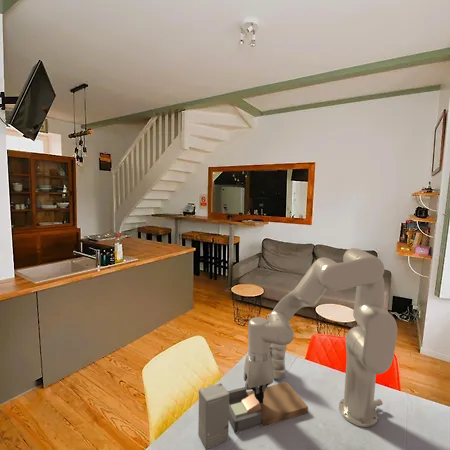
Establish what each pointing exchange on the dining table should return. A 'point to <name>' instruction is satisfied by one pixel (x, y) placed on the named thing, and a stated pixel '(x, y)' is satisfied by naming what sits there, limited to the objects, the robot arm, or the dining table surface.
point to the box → (243, 421)
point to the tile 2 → (251, 404)
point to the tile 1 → (239, 409)
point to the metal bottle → (278, 361)
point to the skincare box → (213, 415)
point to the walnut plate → (280, 404)
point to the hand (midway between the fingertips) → (259, 400)
